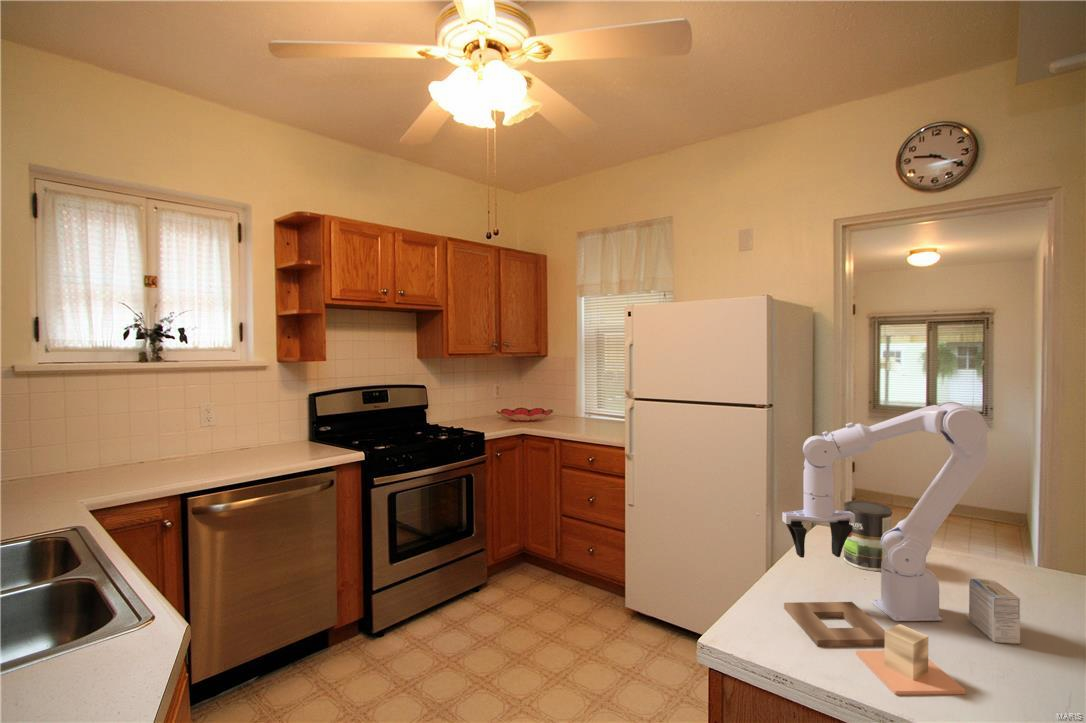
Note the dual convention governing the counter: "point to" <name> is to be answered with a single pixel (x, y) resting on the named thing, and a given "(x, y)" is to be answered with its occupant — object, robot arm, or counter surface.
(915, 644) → the birch block
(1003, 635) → the medicine box
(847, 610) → the pocket plate
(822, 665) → the counter surface
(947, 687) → the tile
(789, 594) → the counter surface
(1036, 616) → the counter surface
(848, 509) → the coffee can
